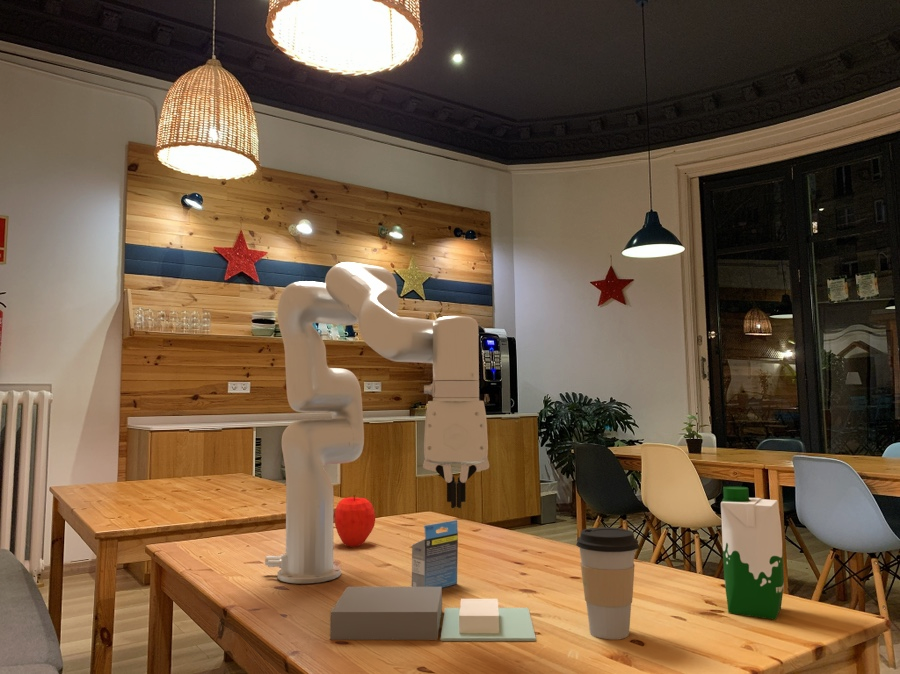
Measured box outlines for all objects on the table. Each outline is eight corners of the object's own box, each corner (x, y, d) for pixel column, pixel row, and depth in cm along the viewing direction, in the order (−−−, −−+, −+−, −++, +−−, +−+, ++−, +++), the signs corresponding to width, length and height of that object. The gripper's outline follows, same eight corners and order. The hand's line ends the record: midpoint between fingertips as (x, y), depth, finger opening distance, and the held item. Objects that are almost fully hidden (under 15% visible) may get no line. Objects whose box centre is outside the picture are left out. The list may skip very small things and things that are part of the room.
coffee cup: (571, 624, 109) (569, 527, 111) (629, 622, 110) (626, 525, 111) (588, 645, 100) (585, 539, 101) (652, 642, 101) (648, 537, 102)
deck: (330, 639, 103) (330, 612, 104) (347, 611, 117) (347, 586, 118) (437, 639, 103) (437, 611, 103) (441, 611, 117) (441, 586, 117)
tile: (498, 615, 105) (499, 633, 104) (497, 598, 114) (498, 614, 113) (458, 615, 105) (459, 632, 105) (461, 598, 114) (461, 614, 114)
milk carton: (731, 600, 121) (725, 484, 123) (788, 608, 116) (782, 487, 118) (721, 613, 114) (715, 489, 115) (782, 622, 109) (775, 493, 111)
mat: (440, 640, 102) (440, 638, 102) (445, 610, 117) (445, 607, 117) (535, 641, 102) (535, 638, 102) (528, 610, 117) (528, 607, 117)
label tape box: (444, 580, 136) (443, 517, 137) (459, 584, 134) (458, 519, 135) (410, 590, 130) (410, 523, 131) (425, 594, 127) (425, 525, 128)
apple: (383, 543, 172) (383, 493, 173) (357, 551, 164) (357, 498, 165) (352, 539, 177) (352, 491, 178) (325, 547, 169) (326, 496, 170)
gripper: (407, 392, 110) (407, 510, 108) (502, 392, 109) (503, 511, 108) (412, 392, 117) (412, 503, 116) (501, 392, 117) (502, 503, 115)
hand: (456, 506), depth 112 cm, fingers closed
